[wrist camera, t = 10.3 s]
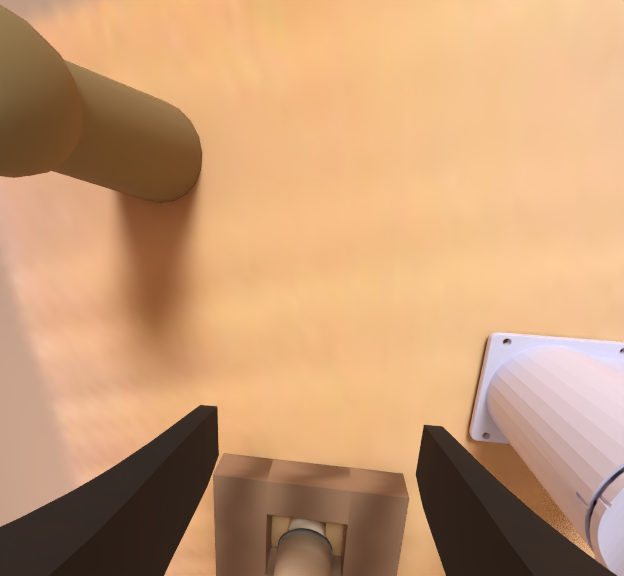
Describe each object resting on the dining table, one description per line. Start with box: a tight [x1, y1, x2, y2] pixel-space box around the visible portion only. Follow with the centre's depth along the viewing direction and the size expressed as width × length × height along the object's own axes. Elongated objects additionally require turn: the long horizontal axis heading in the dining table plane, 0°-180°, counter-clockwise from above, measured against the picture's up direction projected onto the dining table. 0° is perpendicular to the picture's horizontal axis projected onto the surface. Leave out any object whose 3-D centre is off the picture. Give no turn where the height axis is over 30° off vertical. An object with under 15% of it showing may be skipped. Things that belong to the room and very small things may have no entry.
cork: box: [0, 5, 202, 203], centre depth 13 cm, size 6×6×11 cm
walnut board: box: [213, 454, 409, 576], centre depth 23 cm, size 14×12×2 cm
